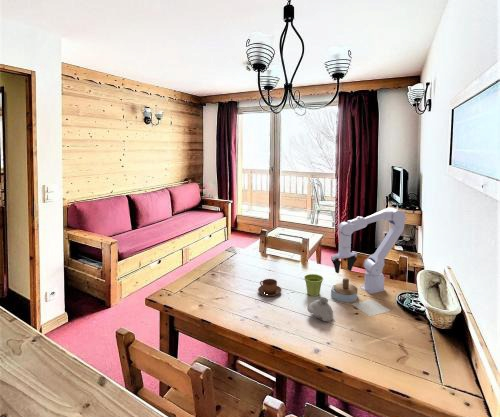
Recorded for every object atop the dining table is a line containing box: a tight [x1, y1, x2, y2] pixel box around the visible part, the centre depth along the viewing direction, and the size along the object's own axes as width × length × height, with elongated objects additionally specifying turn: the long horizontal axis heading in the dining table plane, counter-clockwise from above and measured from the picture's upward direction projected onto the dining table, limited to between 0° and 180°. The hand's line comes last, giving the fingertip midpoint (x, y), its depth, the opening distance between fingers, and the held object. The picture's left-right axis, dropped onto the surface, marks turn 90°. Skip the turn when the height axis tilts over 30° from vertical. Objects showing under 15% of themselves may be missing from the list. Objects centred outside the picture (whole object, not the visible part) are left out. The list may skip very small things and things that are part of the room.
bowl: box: [330, 284, 358, 303], centre depth 157 cm, size 12×12×4 cm
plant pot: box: [303, 273, 324, 297], centre depth 161 cm, size 9×9×9 cm
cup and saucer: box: [257, 278, 282, 297], centre depth 163 cm, size 12×12×6 cm
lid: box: [334, 278, 358, 295], centre depth 156 cm, size 11×11×6 cm
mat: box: [351, 299, 392, 317], centre depth 146 cm, size 12×12×1 cm
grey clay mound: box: [306, 296, 334, 322], centre depth 139 cm, size 12×12×11 cm
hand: (343, 271), depth 163 cm, fingers open, 7 cm apart
